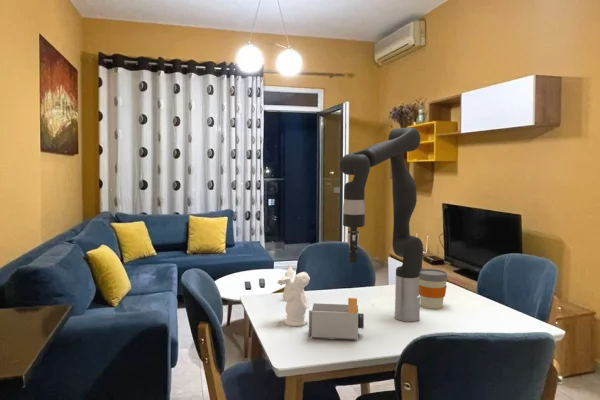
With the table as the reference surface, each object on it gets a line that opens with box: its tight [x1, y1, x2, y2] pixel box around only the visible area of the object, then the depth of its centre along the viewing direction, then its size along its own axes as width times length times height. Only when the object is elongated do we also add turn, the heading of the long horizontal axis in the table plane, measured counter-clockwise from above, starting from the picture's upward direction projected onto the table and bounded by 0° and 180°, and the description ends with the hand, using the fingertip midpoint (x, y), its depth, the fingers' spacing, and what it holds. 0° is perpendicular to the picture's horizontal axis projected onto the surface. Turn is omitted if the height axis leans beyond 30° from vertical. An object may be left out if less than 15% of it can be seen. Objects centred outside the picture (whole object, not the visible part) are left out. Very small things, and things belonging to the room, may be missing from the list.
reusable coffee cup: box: [419, 268, 448, 310], centre depth 198 cm, size 13×13×15 cm
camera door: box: [308, 297, 359, 340], centre depth 157 cm, size 17×1×14 cm, turn 84°
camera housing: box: [311, 303, 365, 341], centre depth 162 cm, size 18×8×10 cm, turn 84°
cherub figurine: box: [277, 263, 311, 327], centre depth 174 cm, size 12×12×22 cm
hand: (353, 261), depth 158 cm, fingers open, 4 cm apart
